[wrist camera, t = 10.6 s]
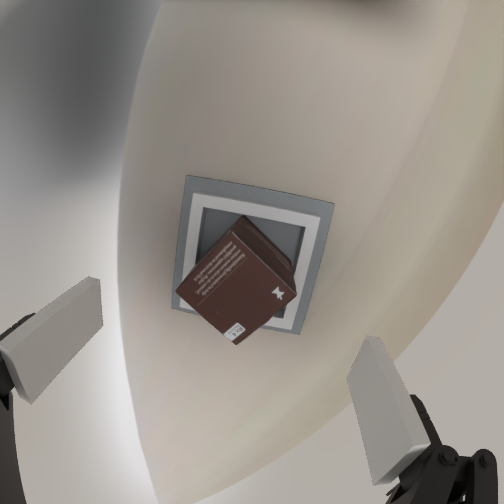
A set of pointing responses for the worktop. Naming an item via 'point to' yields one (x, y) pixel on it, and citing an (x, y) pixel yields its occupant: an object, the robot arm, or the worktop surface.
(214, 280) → the box
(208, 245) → the grey and white frame
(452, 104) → the worktop surface
